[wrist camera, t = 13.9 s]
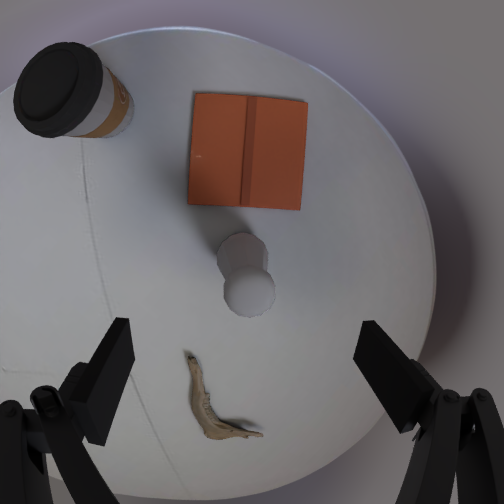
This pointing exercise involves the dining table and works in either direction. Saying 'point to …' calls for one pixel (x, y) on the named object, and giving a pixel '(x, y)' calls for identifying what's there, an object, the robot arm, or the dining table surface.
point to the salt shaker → (246, 275)
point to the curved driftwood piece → (210, 410)
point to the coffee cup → (71, 95)
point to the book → (247, 151)
